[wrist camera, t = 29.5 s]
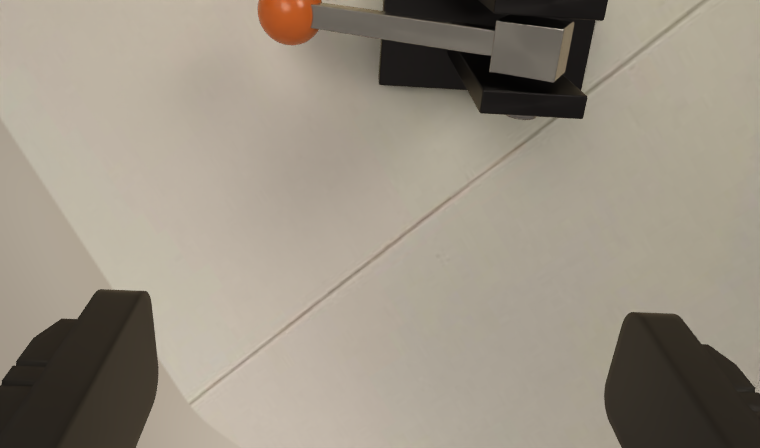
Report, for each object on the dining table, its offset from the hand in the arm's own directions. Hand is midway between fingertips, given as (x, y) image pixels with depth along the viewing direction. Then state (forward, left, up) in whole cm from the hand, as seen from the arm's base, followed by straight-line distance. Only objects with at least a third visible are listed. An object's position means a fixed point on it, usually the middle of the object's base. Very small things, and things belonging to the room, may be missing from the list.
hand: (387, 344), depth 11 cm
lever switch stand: (+7, +2, -30) cm, 31 cm away
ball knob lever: (+2, +2, -23) cm, 23 cm away
